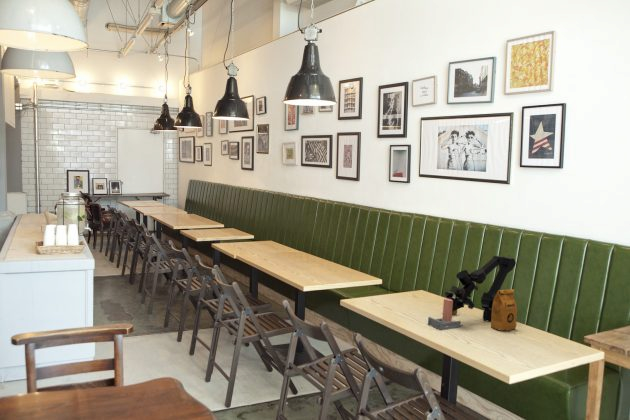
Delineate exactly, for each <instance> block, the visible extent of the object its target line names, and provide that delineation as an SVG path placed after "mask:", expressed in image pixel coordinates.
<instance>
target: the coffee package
mask: <svg viewBox="0 0 630 420" xmlns="http://www.w3.org/2000/svg"><path fill="white" fill-rule="evenodd" d="M514 293H515V289H500V290H498V292H497V294H496V296H495V298H494V300H493V305H492V314H491V321H490V327H491V328H492V329H494V330H495V329H496V330H498V331H511V330H512V331H513V330H515V329H516V328H517V316H518V307H517V302H516V301H515V298H514Z"/></svg>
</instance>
